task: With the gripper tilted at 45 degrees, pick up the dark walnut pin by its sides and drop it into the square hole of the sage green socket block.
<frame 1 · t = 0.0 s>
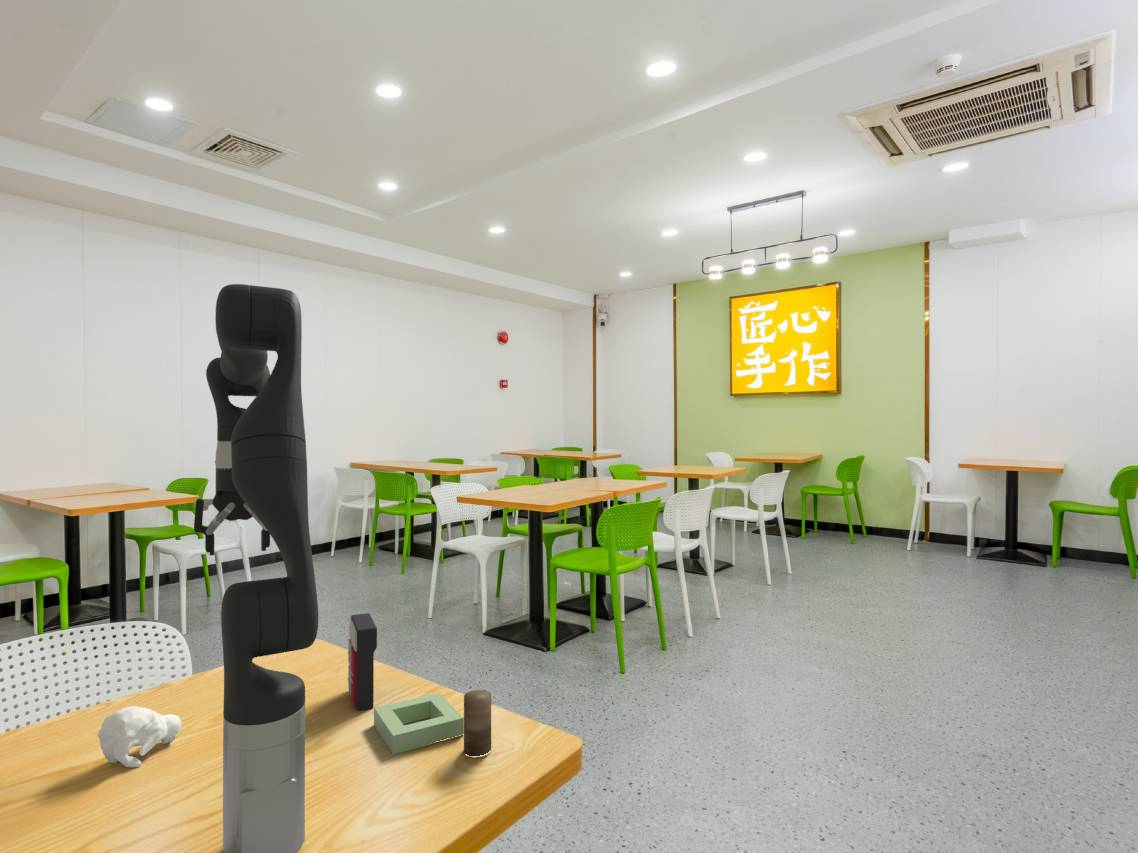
hand: (238, 552, 117), 29 cm above the table, tool pointing down, fingers open, 8 cm apart
white animal figurine: (144, 755, 101), on the table
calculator: (361, 699, 122), on the table
socket block: (417, 729, 109), on the table
walnut pin: (477, 751, 102), on the table
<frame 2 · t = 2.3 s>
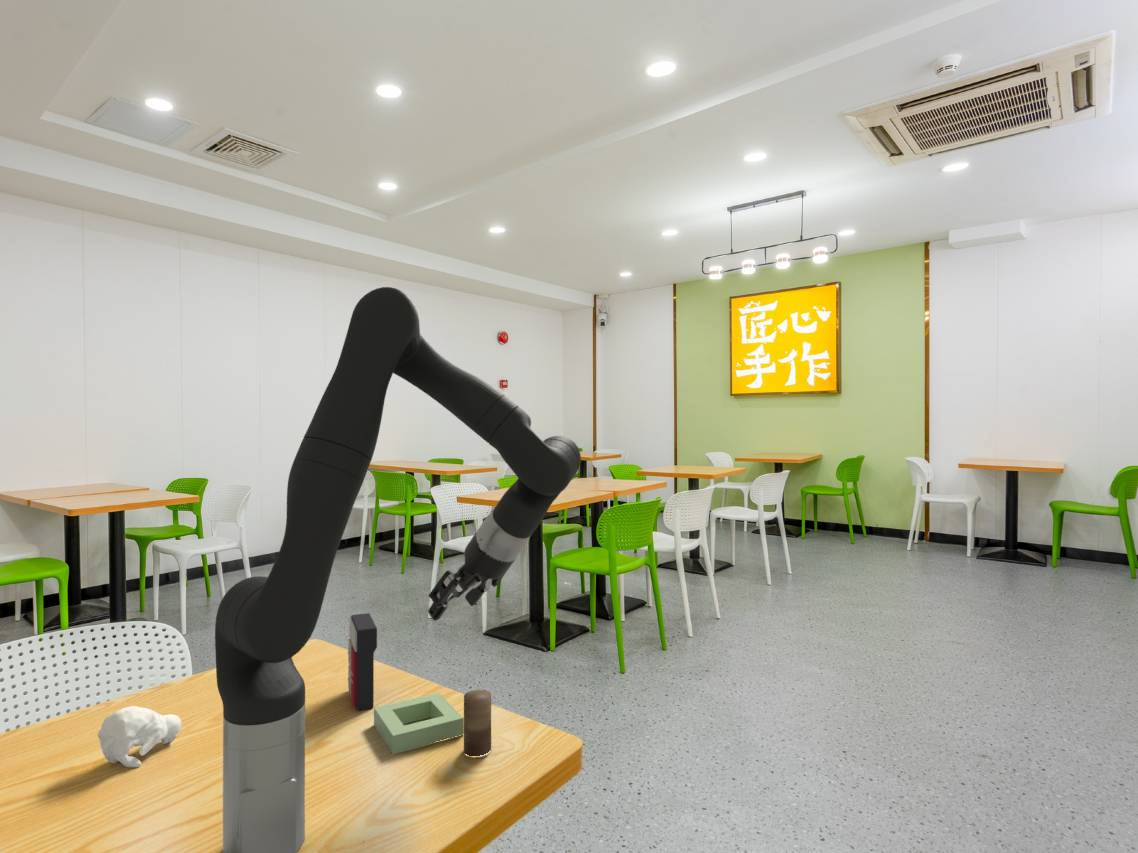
hand: (451, 608, 104), 22 cm above the table, tool tilted 40°, fingers open, 8 cm apart
nothing on the table moved.
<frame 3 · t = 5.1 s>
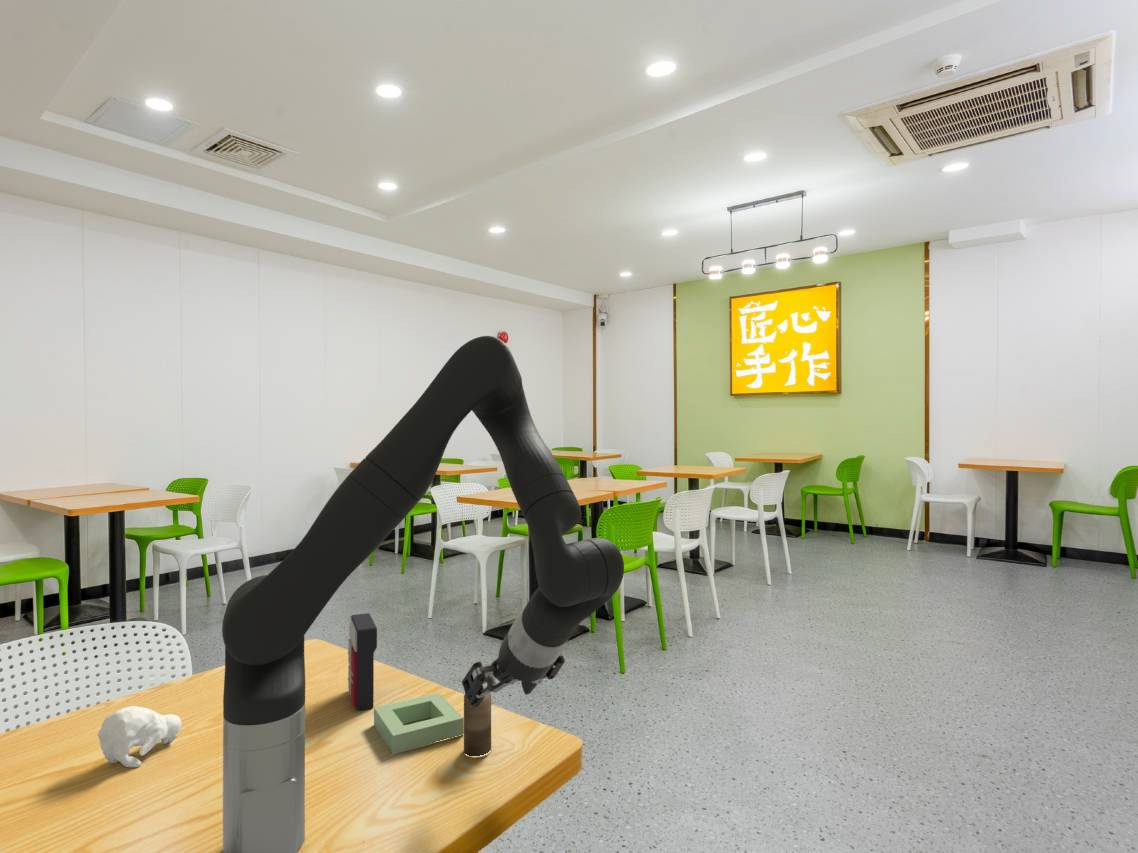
hand: (499, 694, 95), 12 cm above the table, tool tilted 45°, fingers open, 8 cm apart
nothing on the table moved.
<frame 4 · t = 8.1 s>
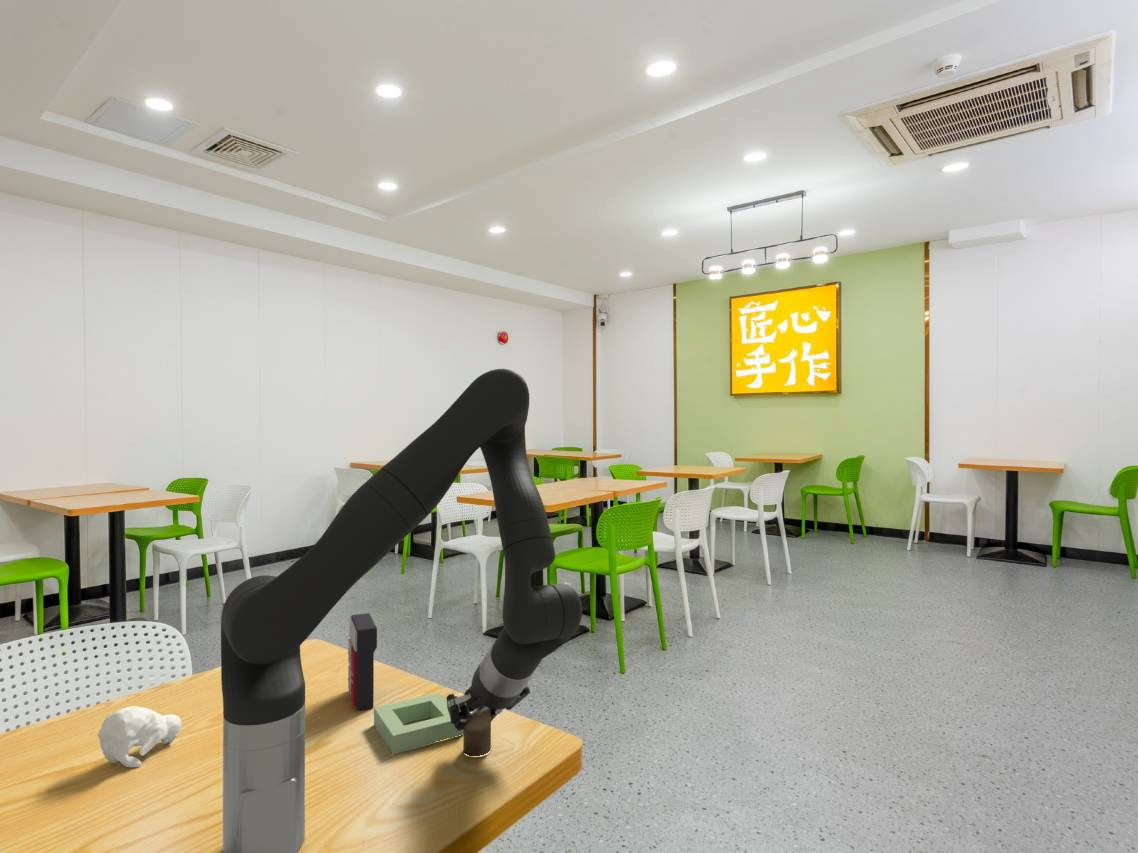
hand: (472, 720, 103), 4 cm above the table, tool tilted 45°, fingers closed on walnut pin, 4 cm apart
walnut pin: (477, 750, 102), on the table, touching gripper
everything else where it was.
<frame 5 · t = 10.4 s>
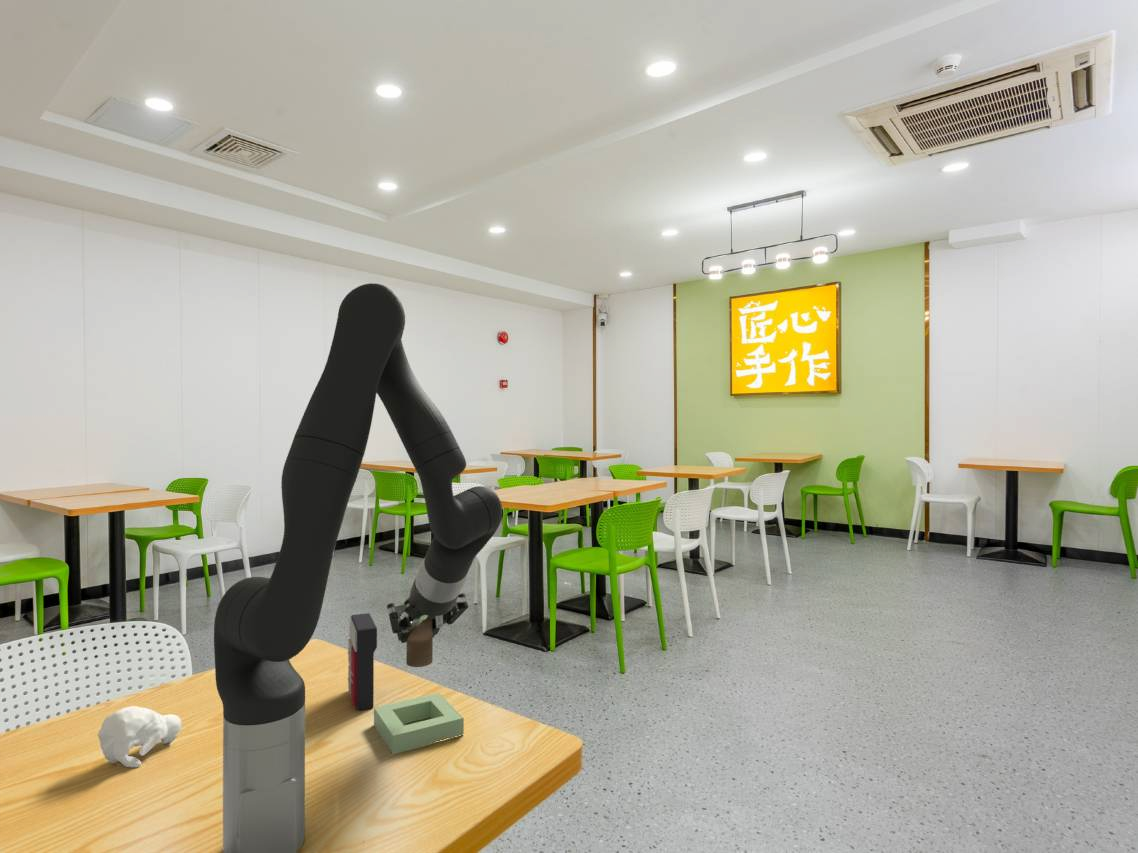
hand: (416, 635, 110), 16 cm above the table, tool tilted 45°, fingers closed on walnut pin, 4 cm apart
walnut pin: (419, 662, 109), point 12 cm above the table, touching gripper
everything else where it was.
when the fingers open (6 cm above the table, at t = 12.8 s): walnut pin drops 1 cm, resting in socket block.
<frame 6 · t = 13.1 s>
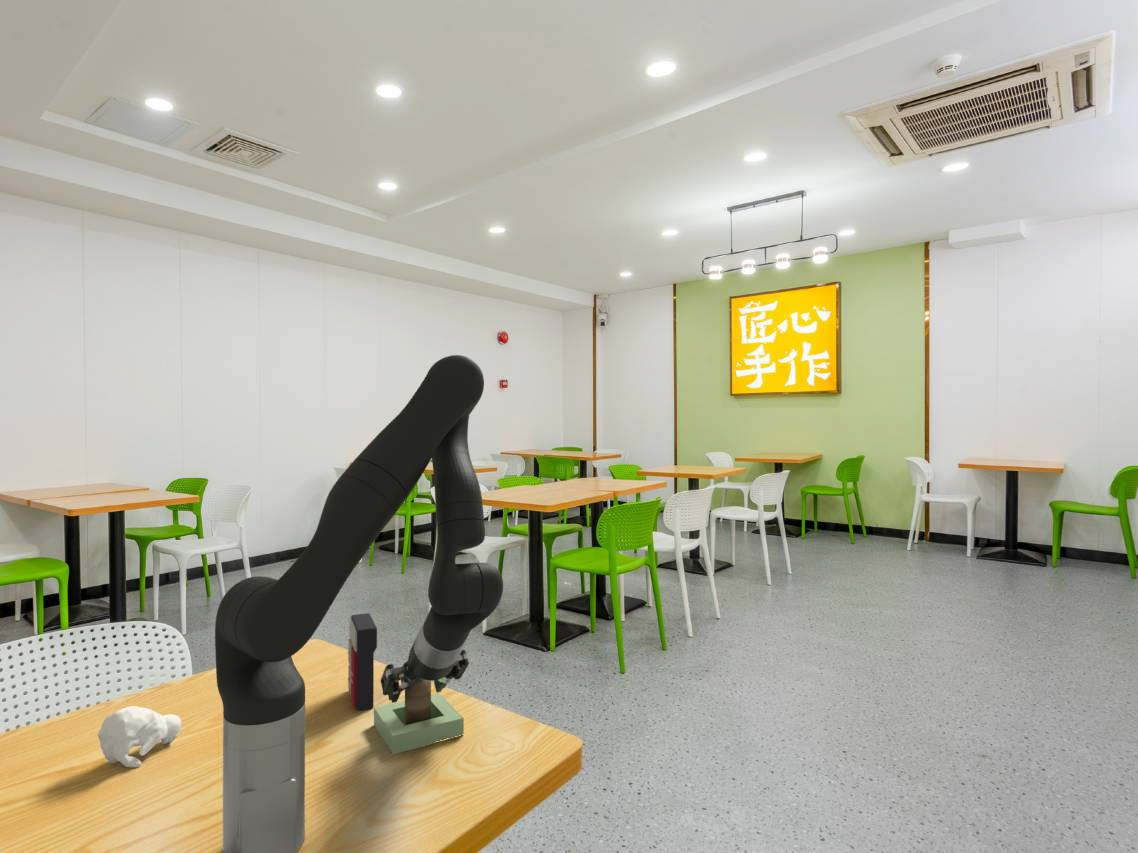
hand: (415, 692, 110), 6 cm above the table, tool tilted 45°, fingers open, 7 cm apart
walnut pin: (417, 730, 109), resting in socket block
everything else where it was.
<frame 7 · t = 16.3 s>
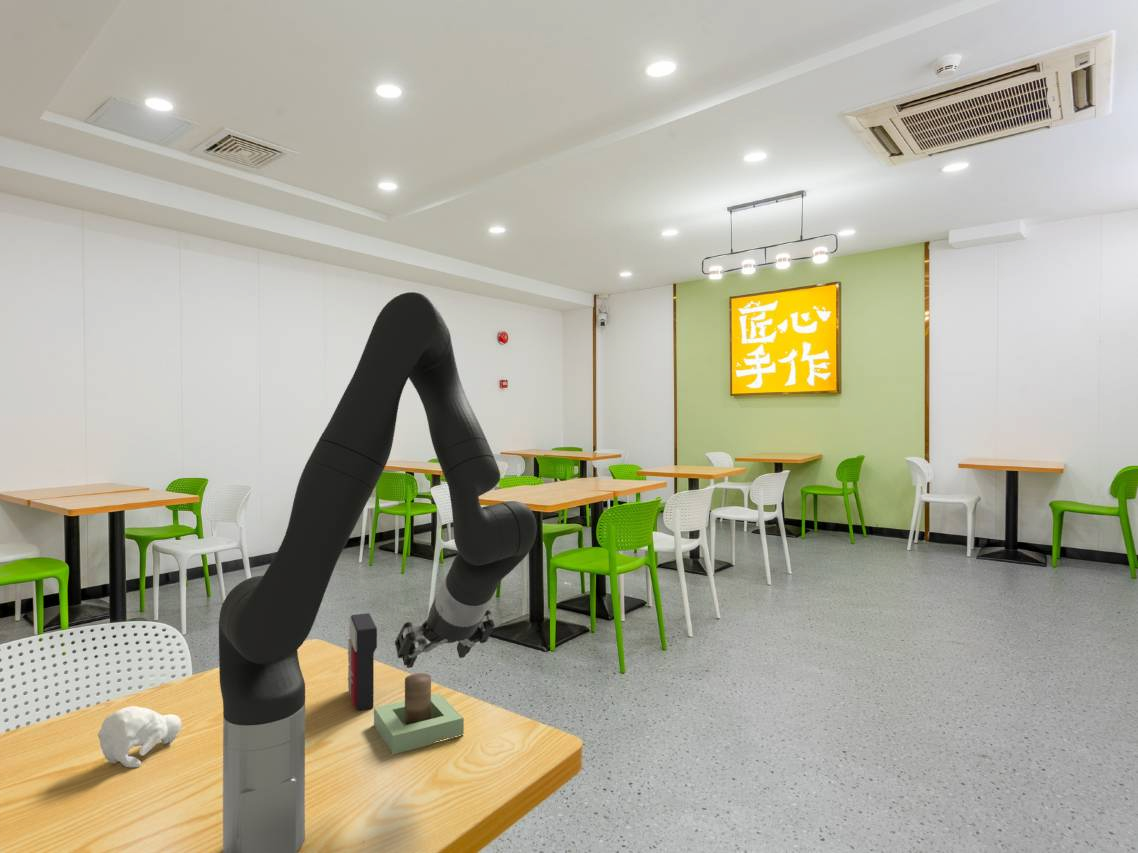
hand: (434, 657, 100), 16 cm above the table, tool tilted 45°, fingers open, 8 cm apart
nothing on the table moved.
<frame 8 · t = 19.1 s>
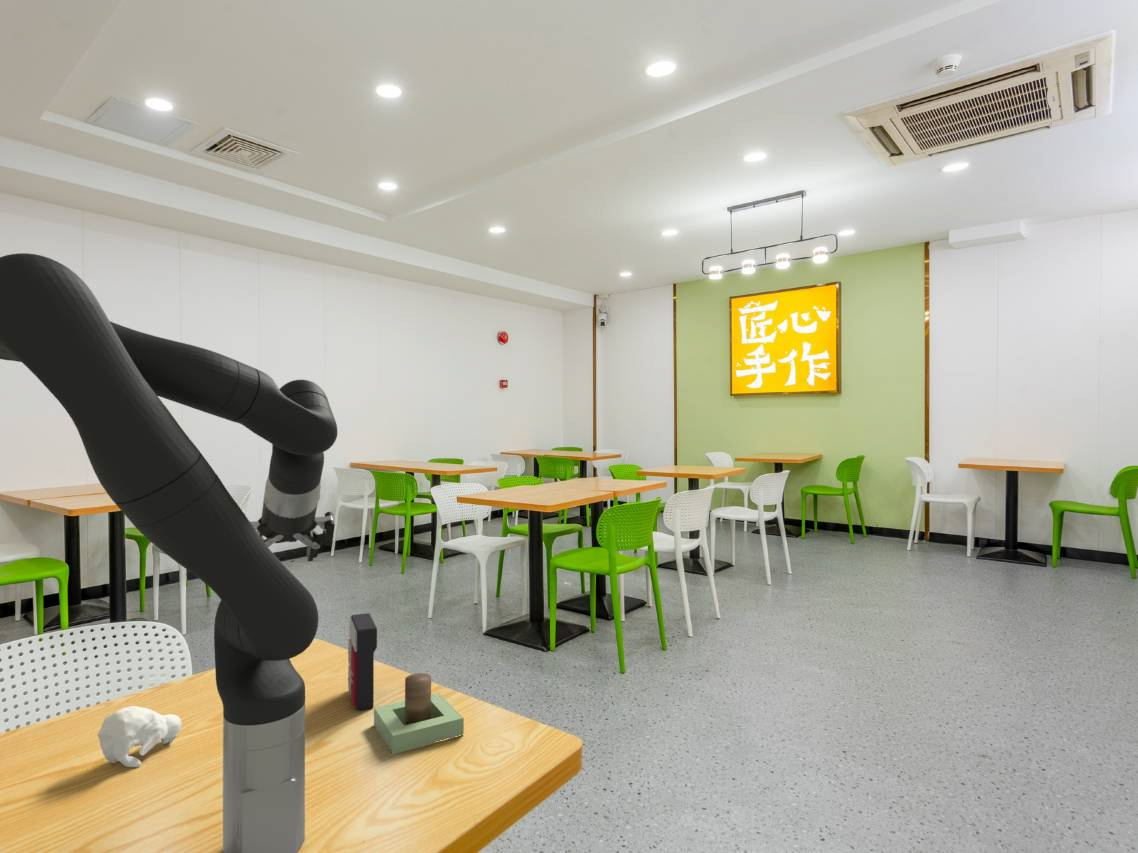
hand: (281, 559, 104), 31 cm above the table, tool tilted 45°, fingers open, 8 cm apart
nothing on the table moved.
at the end: walnut pin 0.0 cm off-centre on the socket block, point 0.0 cm above the socket block's base; walnut pin tilted 0°; the gripper is holding nothing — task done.
